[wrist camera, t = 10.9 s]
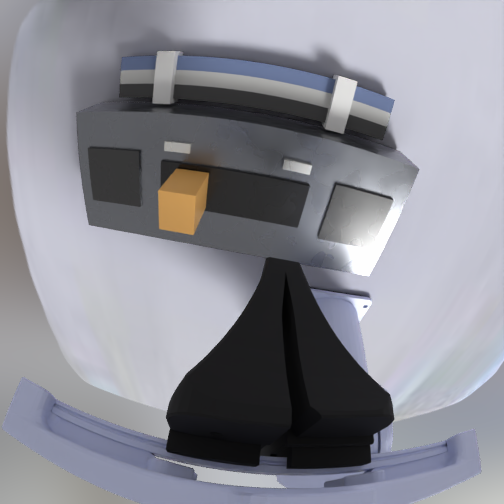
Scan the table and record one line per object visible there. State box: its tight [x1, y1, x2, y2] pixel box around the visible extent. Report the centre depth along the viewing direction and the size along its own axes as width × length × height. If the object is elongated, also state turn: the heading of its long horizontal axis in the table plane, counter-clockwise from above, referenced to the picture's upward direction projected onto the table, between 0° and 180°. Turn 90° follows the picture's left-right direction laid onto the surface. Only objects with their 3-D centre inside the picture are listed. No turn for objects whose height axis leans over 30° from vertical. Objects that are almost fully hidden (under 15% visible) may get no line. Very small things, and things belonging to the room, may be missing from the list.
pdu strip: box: [77, 102, 419, 276], centre depth 18 cm, size 9×22×4 cm, turn 81°
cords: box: [119, 51, 395, 140], centre depth 15 cm, size 4×18×2 cm, turn 81°
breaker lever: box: [158, 169, 209, 235], centre depth 15 cm, size 2×2×3 cm
